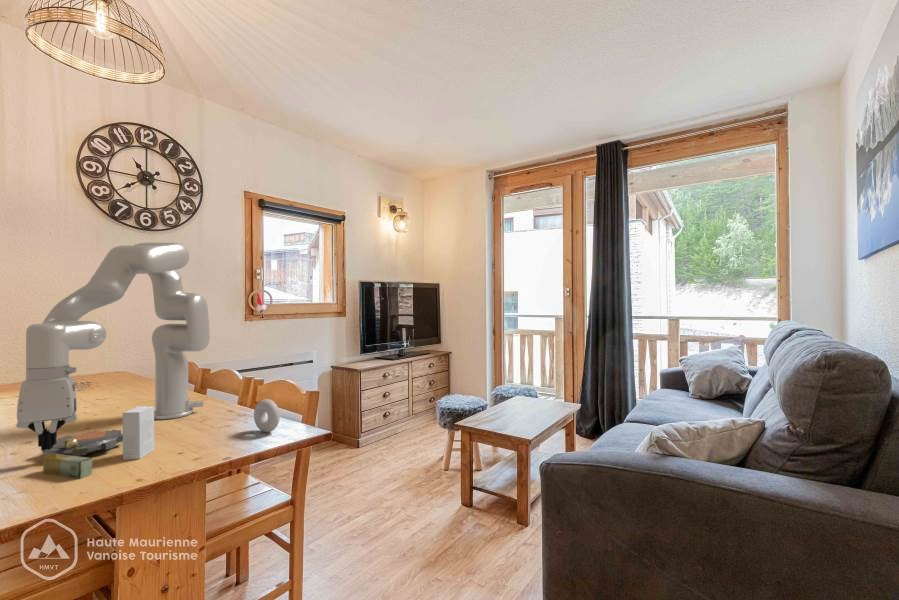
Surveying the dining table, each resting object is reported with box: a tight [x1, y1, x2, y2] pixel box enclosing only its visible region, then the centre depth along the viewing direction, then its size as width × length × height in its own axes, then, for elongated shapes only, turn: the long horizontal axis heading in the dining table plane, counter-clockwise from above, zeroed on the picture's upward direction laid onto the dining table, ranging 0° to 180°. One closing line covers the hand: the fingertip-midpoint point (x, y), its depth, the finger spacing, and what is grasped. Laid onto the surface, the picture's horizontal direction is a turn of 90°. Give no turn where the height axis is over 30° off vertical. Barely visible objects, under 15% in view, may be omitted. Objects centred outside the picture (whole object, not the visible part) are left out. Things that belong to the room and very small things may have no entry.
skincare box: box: [122, 405, 155, 461], centre depth 107 cm, size 6×4×12 cm
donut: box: [253, 398, 281, 433], centre depth 126 cm, size 10×4×10 cm, turn 60°
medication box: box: [42, 454, 93, 480], centre depth 95 cm, size 12×3×4 cm, turn 75°
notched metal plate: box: [42, 429, 123, 457], centre depth 109 cm, size 16×16×4 cm
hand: (47, 448), depth 101 cm, fingers closed
